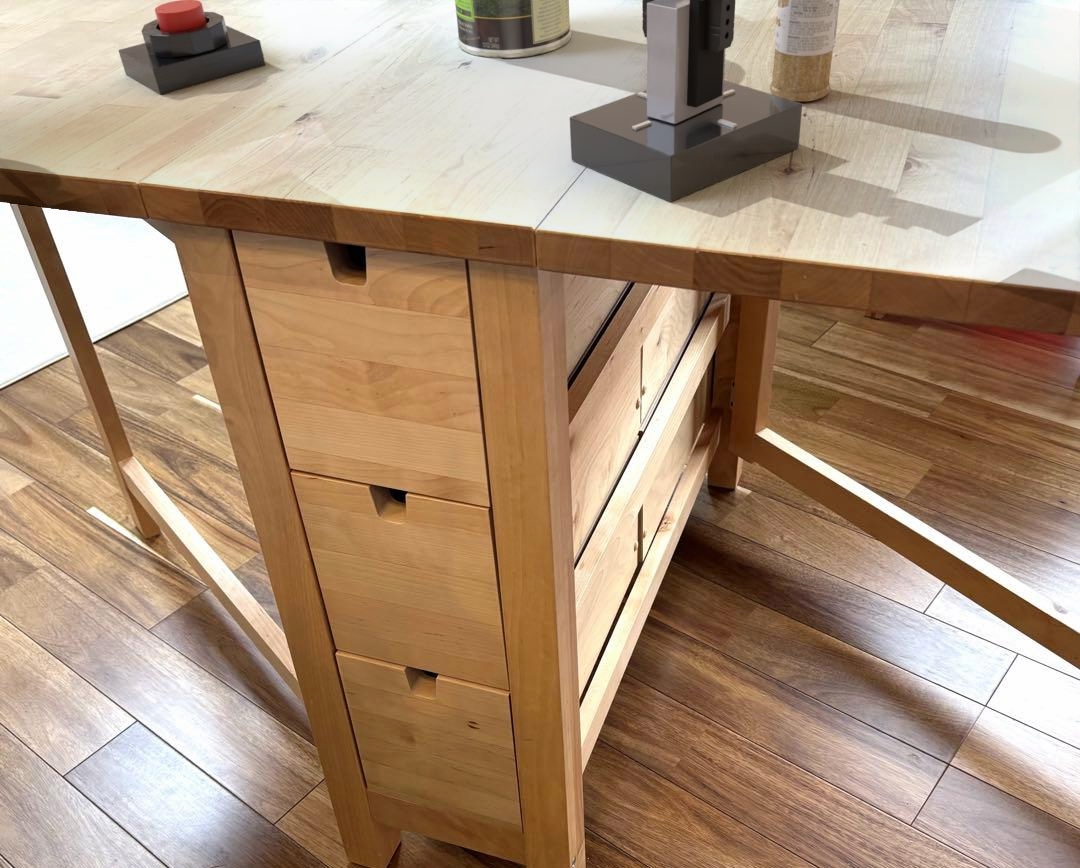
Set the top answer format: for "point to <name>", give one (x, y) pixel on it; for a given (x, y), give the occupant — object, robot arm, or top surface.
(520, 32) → the coffee can
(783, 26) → the sprinkles bottle
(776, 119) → the dark grey flat block
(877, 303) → the top surface
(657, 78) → the light grey upright block
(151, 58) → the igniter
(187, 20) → the ignition button
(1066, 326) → the top surface
